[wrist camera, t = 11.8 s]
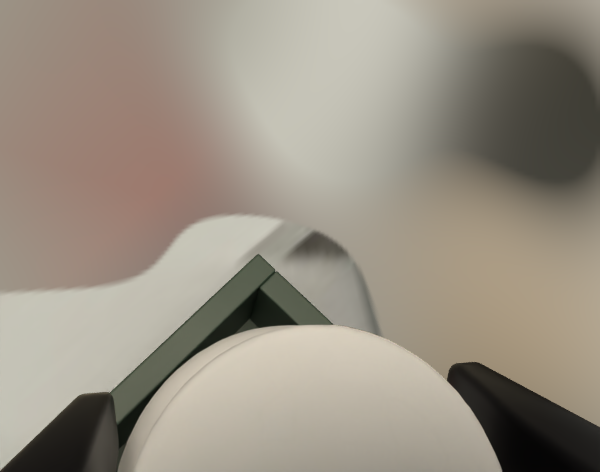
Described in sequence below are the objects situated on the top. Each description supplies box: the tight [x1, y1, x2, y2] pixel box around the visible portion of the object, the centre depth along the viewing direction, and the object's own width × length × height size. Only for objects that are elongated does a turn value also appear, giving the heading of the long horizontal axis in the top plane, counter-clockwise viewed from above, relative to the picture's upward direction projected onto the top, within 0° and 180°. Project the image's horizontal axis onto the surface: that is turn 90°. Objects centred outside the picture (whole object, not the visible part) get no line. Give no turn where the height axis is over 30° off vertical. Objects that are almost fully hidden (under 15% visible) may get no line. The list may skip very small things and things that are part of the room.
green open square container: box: [110, 254, 333, 472], centre depth 16 cm, size 9×9×5 cm
